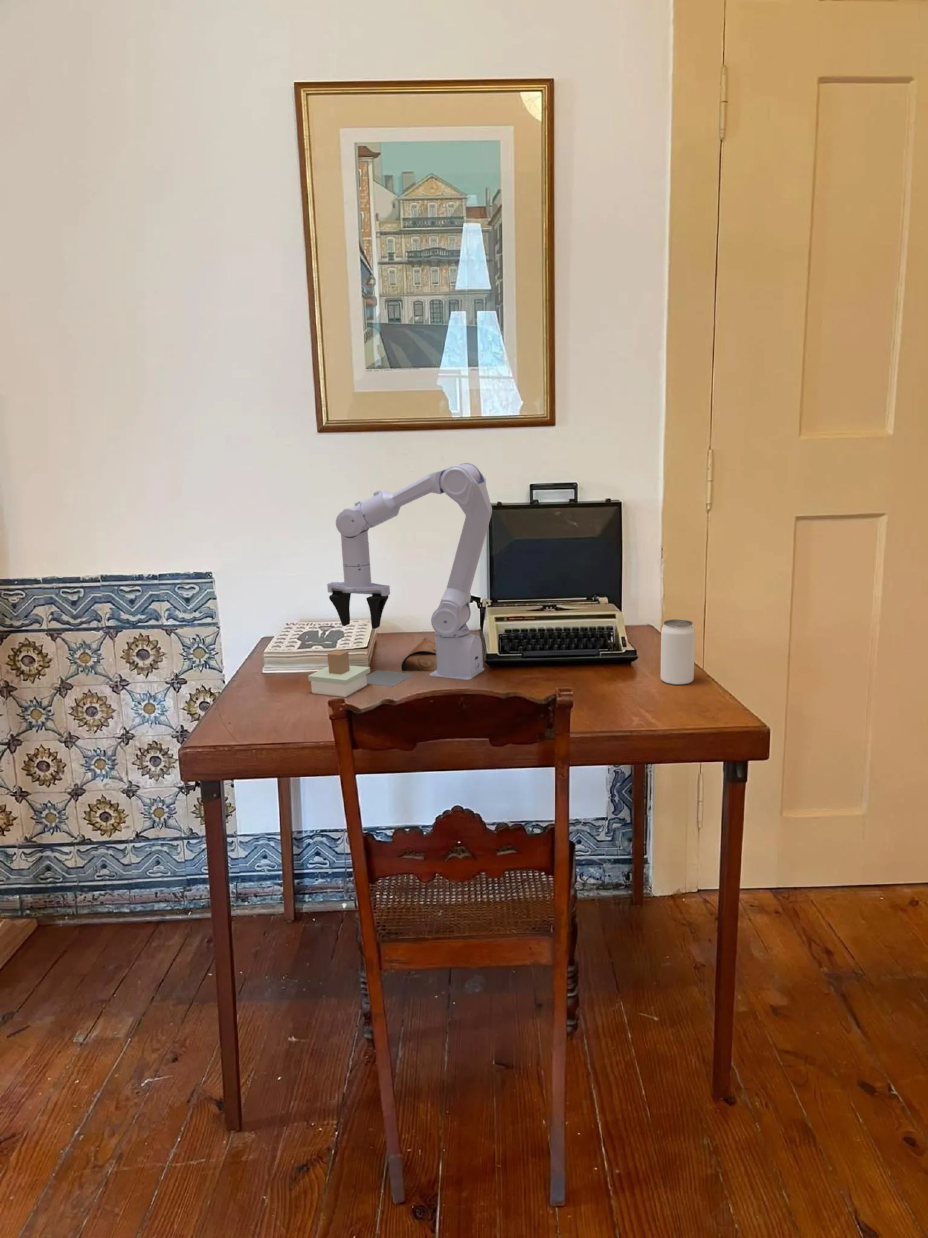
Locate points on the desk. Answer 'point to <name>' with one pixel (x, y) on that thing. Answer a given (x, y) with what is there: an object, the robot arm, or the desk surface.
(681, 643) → the can
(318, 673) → the lid
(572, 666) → the desk surface
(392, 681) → the mat
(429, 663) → the sunglasses case
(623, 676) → the desk surface
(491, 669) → the desk surface
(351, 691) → the dish
